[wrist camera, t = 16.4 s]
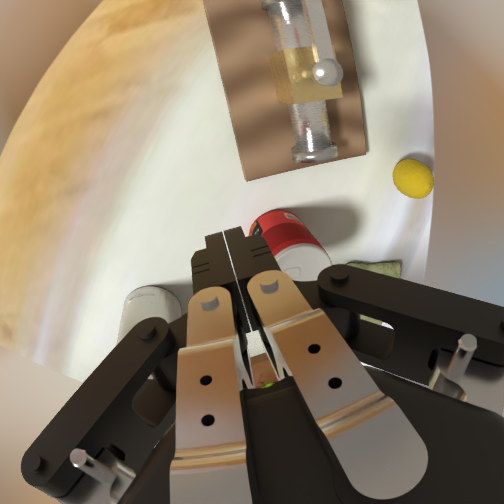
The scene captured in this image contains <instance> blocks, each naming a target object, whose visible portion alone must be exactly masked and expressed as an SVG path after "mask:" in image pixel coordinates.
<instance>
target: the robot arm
mask: <svg viewBox="0 0 504 504" xmlns="http://www.w3.org/2000/svg"><path fill="white" fill-rule="evenodd" d="M224 235H225V238H226V242H227V245H228V249H229V252H230V256H231V259H232V263H233V266H234V270H235V273H236V277H237V280H238V283H239V287H240V290H241V294H242V297H243V300H244V304H245V307H246V310H247V314H248V317H249V320H250V324H251V327H252V330H253V331H256V330H259V333H260V336H261V340H262V343H263V347H264V349H265V352H266V354H267V356H268V358H269V361H270V363H271V365H272V367H273V369H274V372H275V374H276V376H277V378H278V382H276V383H275V384H273V385H271V386H269V387H265V388H255V384H254V378H253V372H252V366H251V361H250V355H249V350H248V347H247V345H248V342H247V337H246V333H249V332H251V330H250V327H249V323H248V320H247V317H246V313H245V310H244V306H243V303H242V300H241V296H240V293H239V289H238V286H237V282H236V279H235V275H234V272H233V268H232V265H231V261H230V258H229V254H228V251H227V247H226V244H225V240H224V237H223V233H222V232H218V233H215V234H211V235H208V236H205V241H206V249H202V250H199V251H196V252H195V253H194V255H193V257H192V259H191V267H192V281H193V293H194V296H193V297H192V298H191V299H190V301H189V303H188V312H187V313H186V314H184V315H183V316H182V313H181V305H180V303H179V301H178V299H177V298H176V297H175V296H174V295H173V294H172V293H170V292H169V291H167V290H165V289H162V288H159V287H153V286H147V287H141V288H139V289H136V290H134V291H133V292H131V293H130V294H129V295H128V296H127V298H126V300H125V303H124V307H123V312H122V318H121V322H120V328H119V334H118V340H117V346H116V347H115V348H114V349H113V350H112V351H111V352H110V353H109V354H108V356H107V357H106V358H105V359H104V360H103V361H102V362H101V363H100V365H99V366H98V367H97V368H96V369H95V370H94V371H93V373H92V374H91V375H90V376H89V377H88V378H87V379H86V381H85V382H84V383H83V384H82V385H81V386H80V388H79V389H78V390H77V391H76V392H75V393H74V394H73V396H72V397H71V398H70V399H69V400H68V401H67V403H66V404H65V405H64V406H63V407H62V408H61V410H60V411H59V412H58V413H57V415H56V416H55V417H54V418H53V419H52V420H51V422H50V423H49V424H48V425H47V426H46V428H45V429H44V430H43V431H42V433H41V434H40V435H39V436H38V437H37V439H36V440H35V441H34V442H33V443H32V445H31V446H30V447H29V448H28V450H27V451H26V452H25V454H24V456H23V458H22V462H21V472H22V475H23V478H24V479H25V481H26V482H27V483H28V484H30V485H32V486H33V487H35V488H37V489H39V490H41V491H43V492H44V493H46V494H47V495H48V496H50V497H52V498H54V499H56V500H58V501H59V502H60V503H61V504H504V417H502V412H503V407H504V307H501V306H498V305H494V304H491V303H487V302H484V301H480V300H476V299H473V298H469V297H465V296H462V295H458V294H455V293H451V292H447V291H443V290H440V289H436V288H432V287H429V286H425V285H421V284H418V283H414V282H410V281H407V280H403V279H399V278H395V277H392V276H388V275H384V274H380V273H376V272H373V271H369V270H365V269H361V268H357V267H354V266H350V265H344V264H337V265H332V266H329V267H327V268H325V269H323V270H322V271H321V272H320V273H319V275H318V277H317V280H315V281H295V280H292V279H291V278H290V277H289V275H288V274H286V273H285V272H282V271H281V269H280V267H279V265H278V263H277V261H276V259H275V257H274V255H273V253H272V252H271V250H270V248H269V246H268V244H267V242H266V240H265V238H263V237H261V236H259V235H257V234H255V235H251V236H248V237H245V235H244V233H243V230H242V228H241V226H239V227H236V228H232V229H229V230H225V231H224ZM361 315H364V316H367V317H370V318H373V319H376V320H379V321H382V322H385V323H388V324H389V325H391V326H392V327H393V329H391V328H387V327H384V326H381V325H378V324H375V323H372V322H369V321H366V320H363V319H361ZM360 362H363V363H365V364H368V365H371V366H373V367H376V368H373V367H369V366H363V365H362V364H361V363H360ZM377 368H379V369H377ZM380 369H382V370H384V371H382V370H380ZM385 371H387V372H390V373H393V374H395V375H398V376H401V377H404V378H407V379H410V380H413V381H416V382H418V383H421V384H424V385H427V386H429V387H430V389H428V388H426V387H423V386H421V385H418V384H415V383H413V382H410V381H408V380H405V379H402V378H400V377H397V376H395V375H392V374H390V373H387V372H385ZM158 441H159V442H158ZM156 444H157V445H156ZM155 446H156V447H155ZM154 447H155V448H154Z"/></svg>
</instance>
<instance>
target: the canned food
mask: <svg viewBox="0 0 504 504" xmlns="http://www.w3.org/2000/svg"><path fill="white" fill-rule="evenodd" d="M255 234H257V235H259V236H261V237H263V238H265V240H266V242H267V244H268V246H269V248H270V250H271V252H272V253H273V255H274V257H275V259H276V261H277V263H278V265H279V267H280V269H281V271H282V272H285V273H286V274H288V275H289V277H290V278H291V279H292V280H295V281H315V280H317V277H318V275H319V273H320V272H321V271H322V270H323V269H325V268H327V267H329V266H332V263H331V260H330V258H329V256H328V254H327V253H326V251H325V250H324V249H323V248H322V246H321V245H320V244H319V243H318V241H317V240H316V239H315V238H314V237H313V235H312V234H311V233H310V232H309V231H308V229H307V228H306V227H305V226H304V225H303V223H302V222H301V221H300V220H299V219H298V218H297V217H296V216H295V215H293V214H291V213H289V212H286V211H282V210H274V211H270V212H267V213H264V214H262V215H261V216H260V217H258V218H257V219H256V220H255V221H254V223H253V224H252V226H251V229H250V232H249V236H251V235H255Z"/></svg>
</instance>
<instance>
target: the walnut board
mask: <svg viewBox="0 0 504 504" xmlns="http://www.w3.org/2000/svg"><path fill="white" fill-rule="evenodd" d="M321 1H322V5H323V9H324V13H325V17H326V21H327V26H328V30H329V35H330V39H331V44H332V45H334V49H335V54H336V60H337V62H338V63H339V64H340V65H341V67H342V69H343V78H342V80H341V82H340V83H341V89H342V95H343V98H335V99H328V100H326V106H327V113H328V120H329V127H330V134H331V142H334V143H336V144H337V150H338V156H337V157H336V158H334V159H331V160H328V161H324V162H318V163H299V162H295V161H293V160H292V154H291V148H292V147H293V146H295V142H294V136H293V131H292V125H291V119H290V114H289V108H288V103H281V102H278V101H277V96H276V91H275V86H274V82H273V77H272V72H271V67H270V63H269V58H268V55H270V54H272V53H275V52H277V49H276V45H275V40H274V36H273V32H272V27H271V23H270V19H269V15H268V11H265V10H262V9H261V5H260V1H259V0H203V3H204V7H205V11H206V16H207V20H208V24H209V28H210V32H211V36H212V41H213V45H214V49H215V53H216V57H217V62H218V66H219V70H220V74H221V78H222V83H223V87H224V91H225V96H226V100H227V104H228V108H229V113H230V117H231V121H232V126H233V130H234V134H235V139H236V143H237V147H238V152H239V156H240V160H241V165H242V169H243V174H244V178H245V180H246V181H247V182H248V181H252V180H255V179H259V178H263V177H267V176H271V175H275V174H279V173H284V172H288V171H292V170H296V169H301V168H305V167H309V166H314V165H318V164H323V163H328V162H332V161H337V160H342V159H347V158H352V157H357V156H362V155H366V146H365V135H364V126H363V117H362V108H361V100H360V93H359V86H358V79H357V73H356V67H355V61H354V56H353V50H352V45H351V40H350V35H349V30H348V25H347V21H346V16H345V12H344V8H343V4H342V0H321Z"/></svg>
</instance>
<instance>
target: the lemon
mask: <svg viewBox="0 0 504 504" xmlns="http://www.w3.org/2000/svg"><path fill="white" fill-rule="evenodd" d="M393 181H394V184H395V186H396V187H397V189H398V190H399V191H400V192H401V193H403V194H404V195H406V196H408V197H411V198H417V199H420V198H424V197H426V196H427V195H428V194H429V193H430V192H431V191H432V189H433V185H434V178H433V175H432V173H431V171H430V170H429V168H428V167H427V166H425V165H424V164H423V163H421V162H420V161H417V160H414V159H405V160H402V161H400V162H399V163H398V164H397V165H396V166H395V168H394V171H393Z"/></svg>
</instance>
